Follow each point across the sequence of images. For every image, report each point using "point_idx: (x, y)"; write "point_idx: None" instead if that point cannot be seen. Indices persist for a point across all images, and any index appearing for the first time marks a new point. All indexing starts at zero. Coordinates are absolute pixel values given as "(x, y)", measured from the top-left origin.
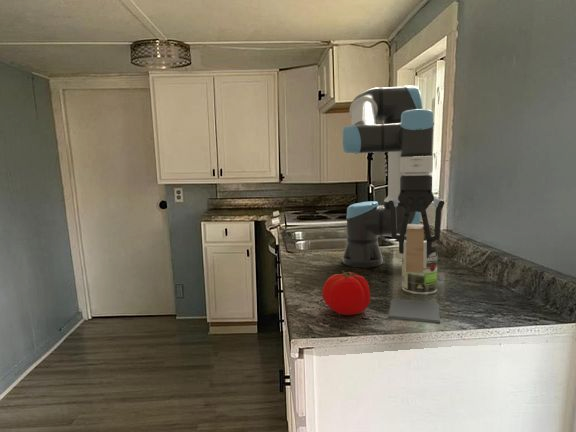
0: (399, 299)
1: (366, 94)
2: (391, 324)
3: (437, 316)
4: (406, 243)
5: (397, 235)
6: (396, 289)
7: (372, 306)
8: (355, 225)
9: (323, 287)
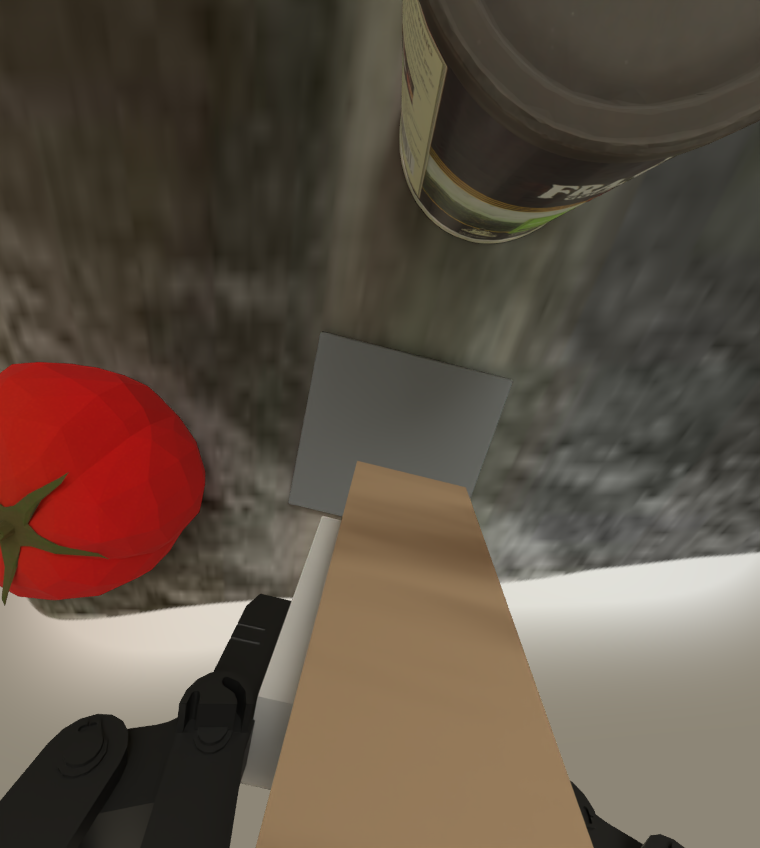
0: (352, 343)
1: None
2: (296, 545)
3: None
4: None
5: (122, 844)
6: (367, 148)
7: (236, 397)
8: None
9: None
